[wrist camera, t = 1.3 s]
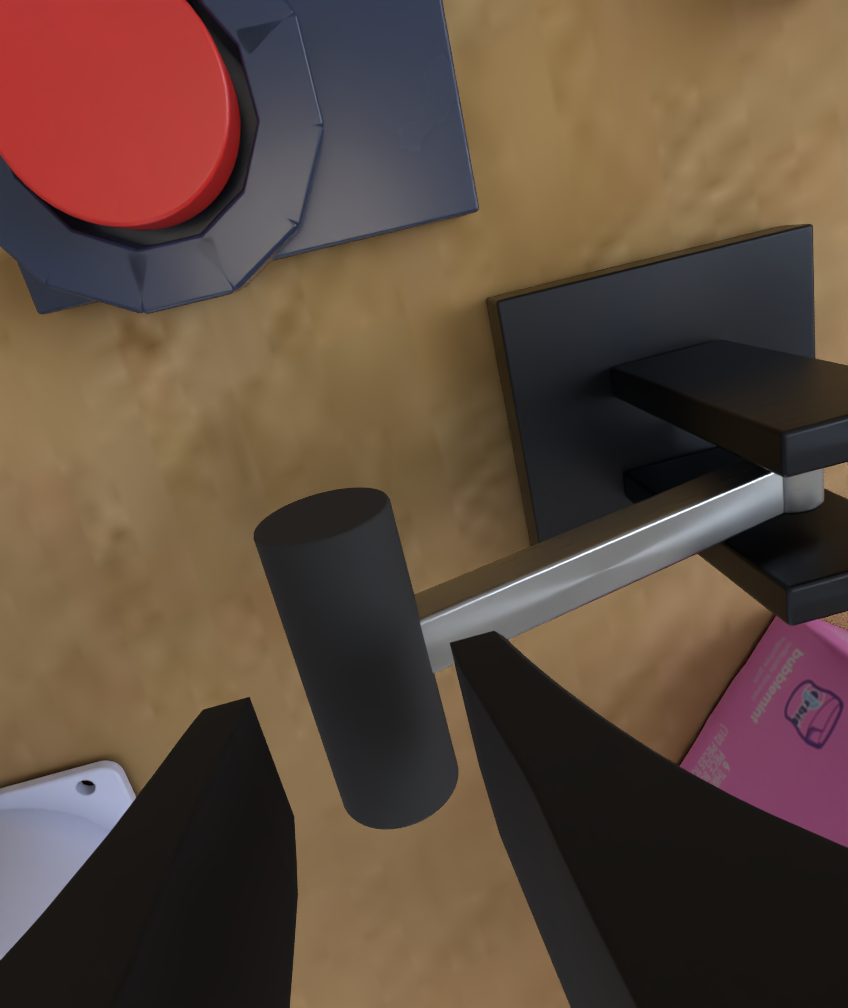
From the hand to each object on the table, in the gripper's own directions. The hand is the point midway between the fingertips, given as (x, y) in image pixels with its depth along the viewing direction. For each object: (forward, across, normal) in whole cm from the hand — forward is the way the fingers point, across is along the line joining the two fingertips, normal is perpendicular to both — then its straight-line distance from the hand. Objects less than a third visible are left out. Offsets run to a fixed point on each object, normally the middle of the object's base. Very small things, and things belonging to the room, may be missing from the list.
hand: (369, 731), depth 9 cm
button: (+8, +2, -9) cm, 12 cm away
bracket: (+10, -9, 0) cm, 13 cm away
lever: (+4, -4, 0) cm, 6 cm away
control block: (+10, 0, -9) cm, 14 cm away
